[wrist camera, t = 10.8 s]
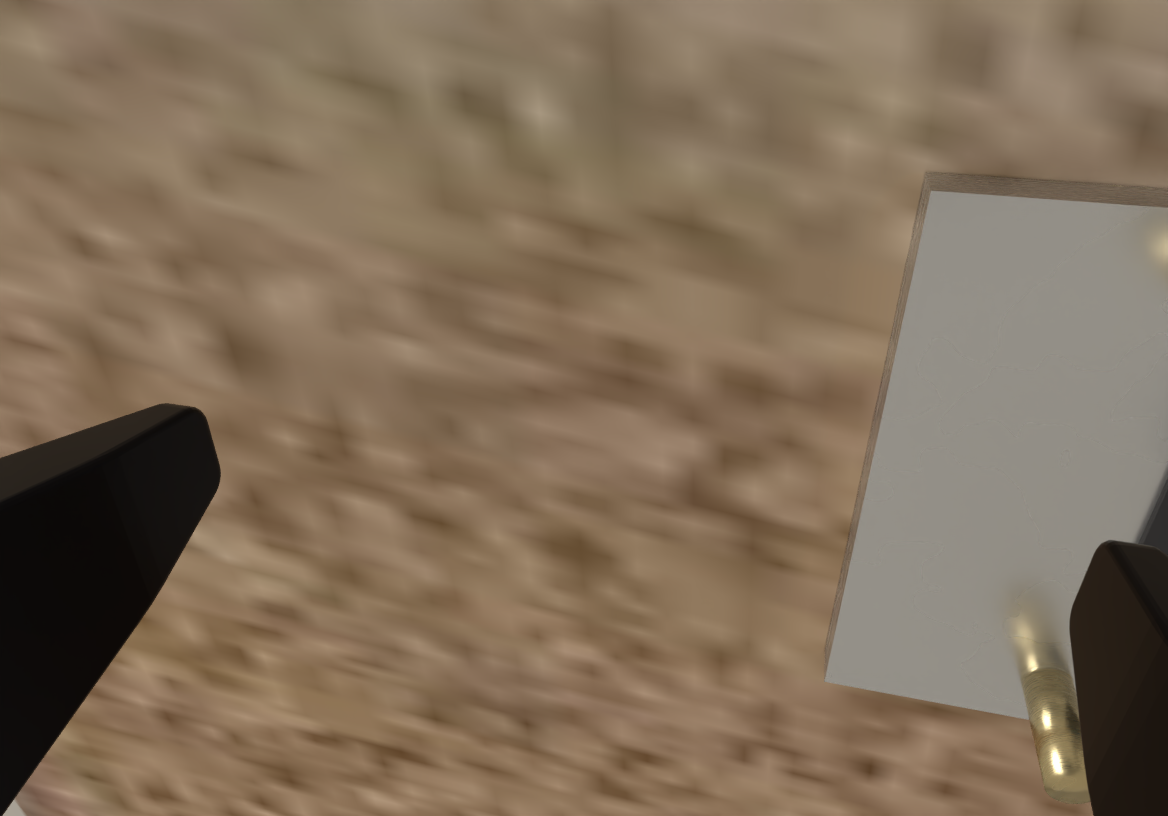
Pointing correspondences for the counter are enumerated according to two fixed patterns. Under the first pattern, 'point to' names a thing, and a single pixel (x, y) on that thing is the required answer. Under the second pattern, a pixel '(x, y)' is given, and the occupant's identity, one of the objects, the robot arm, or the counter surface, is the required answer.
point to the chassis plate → (1008, 449)
